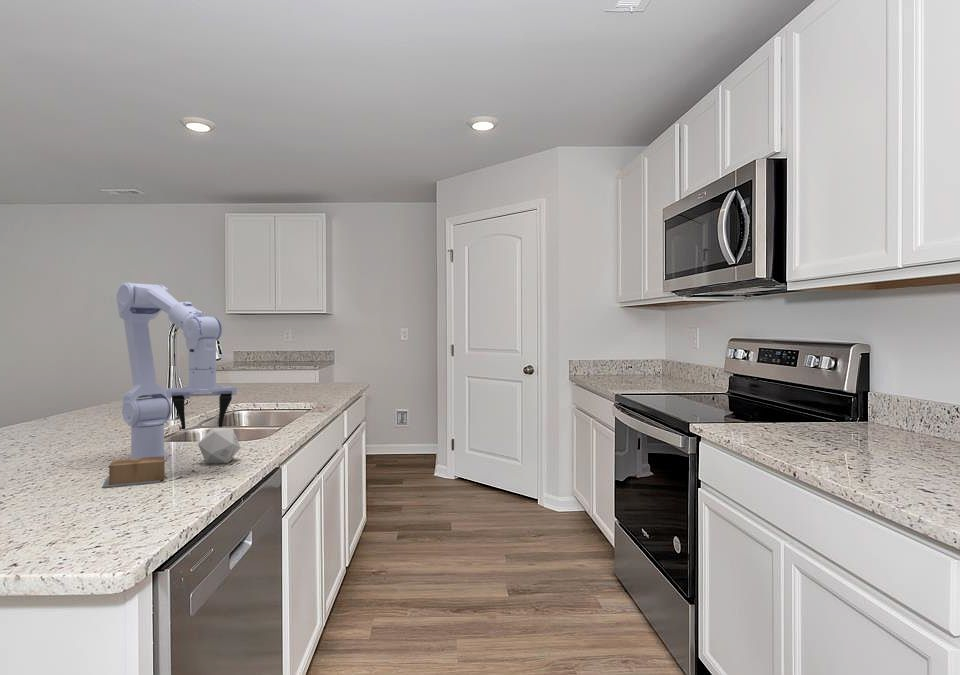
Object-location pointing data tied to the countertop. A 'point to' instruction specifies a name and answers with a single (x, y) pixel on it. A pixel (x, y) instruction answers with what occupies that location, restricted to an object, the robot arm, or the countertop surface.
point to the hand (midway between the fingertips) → (202, 427)
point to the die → (219, 445)
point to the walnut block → (136, 470)
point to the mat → (106, 483)
